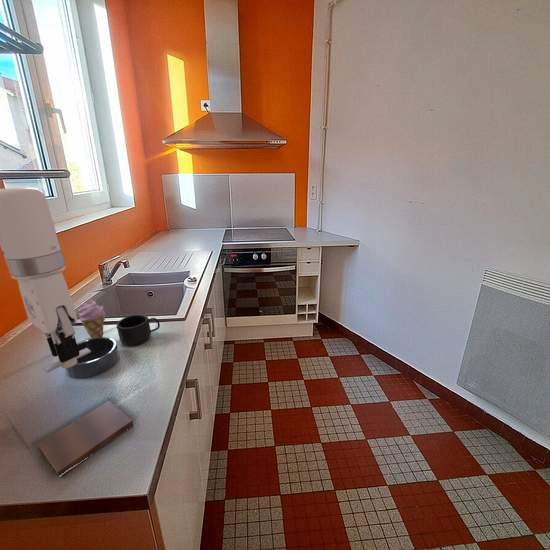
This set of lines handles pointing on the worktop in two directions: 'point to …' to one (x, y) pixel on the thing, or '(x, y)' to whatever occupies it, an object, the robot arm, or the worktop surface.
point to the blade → (67, 363)
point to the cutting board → (84, 437)
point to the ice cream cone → (92, 318)
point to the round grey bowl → (94, 358)
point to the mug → (135, 329)
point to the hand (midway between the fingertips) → (66, 354)
